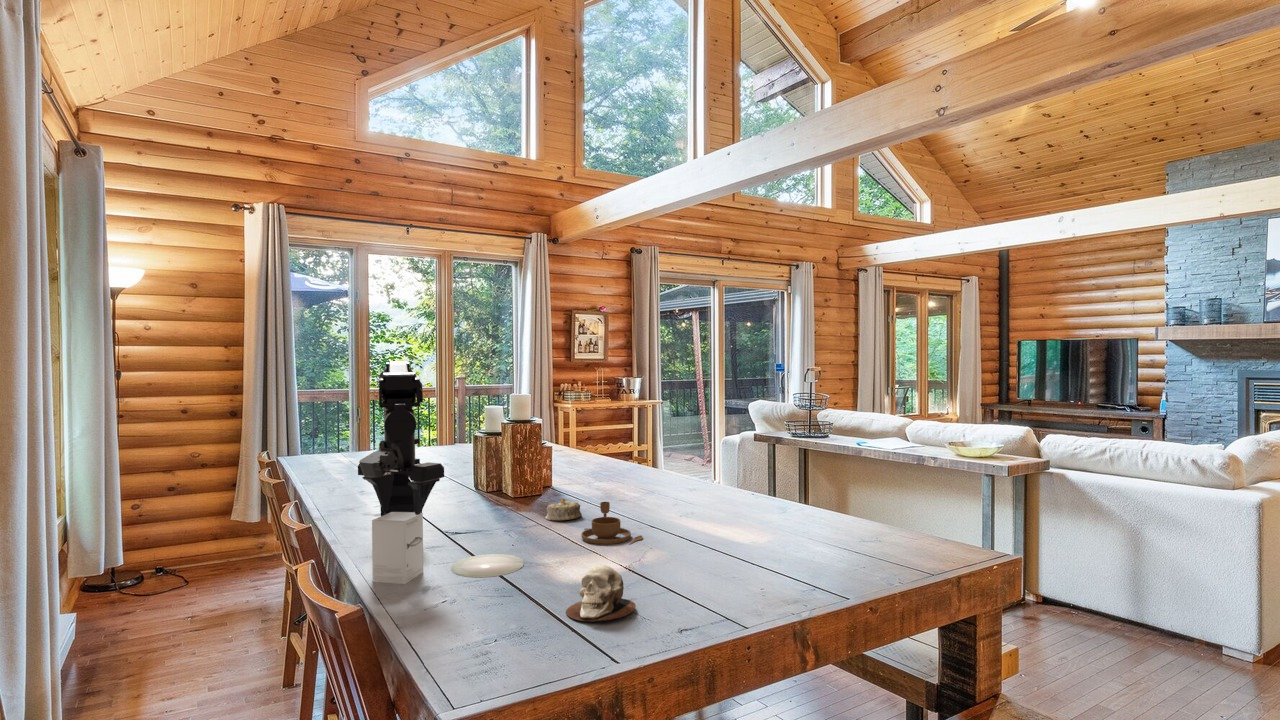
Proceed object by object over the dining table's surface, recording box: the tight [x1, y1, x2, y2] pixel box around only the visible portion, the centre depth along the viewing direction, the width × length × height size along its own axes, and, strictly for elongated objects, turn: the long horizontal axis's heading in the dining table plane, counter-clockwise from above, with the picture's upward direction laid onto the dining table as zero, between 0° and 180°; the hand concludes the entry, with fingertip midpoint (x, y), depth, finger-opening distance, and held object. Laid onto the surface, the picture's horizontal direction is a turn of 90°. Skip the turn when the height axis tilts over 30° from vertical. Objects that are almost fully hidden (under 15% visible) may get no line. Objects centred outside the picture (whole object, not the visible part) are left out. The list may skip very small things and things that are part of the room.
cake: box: [544, 497, 583, 521], centre depth 190 cm, size 10×10×5 cm
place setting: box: [581, 501, 644, 546], centre depth 172 cm, size 18×20×6 cm
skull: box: [565, 564, 636, 623], centre depth 121 cm, size 12×10×10 cm
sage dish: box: [450, 553, 525, 578], centre depth 148 cm, size 15×15×1 cm
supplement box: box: [371, 512, 424, 585], centre depth 140 cm, size 7×7×13 cm
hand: (401, 512), depth 141 cm, fingers open, 9 cm apart
